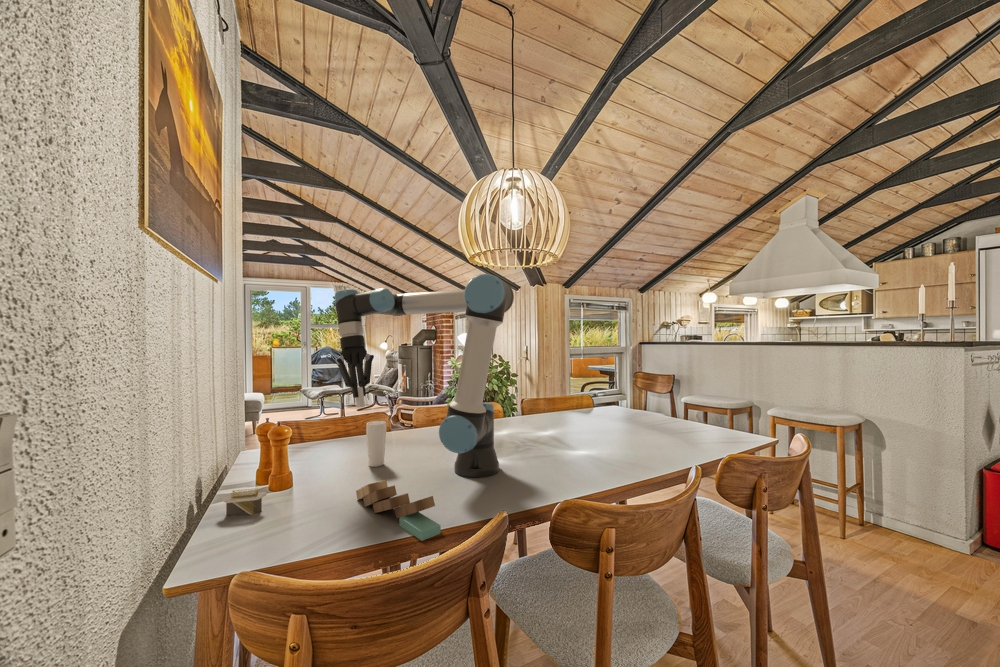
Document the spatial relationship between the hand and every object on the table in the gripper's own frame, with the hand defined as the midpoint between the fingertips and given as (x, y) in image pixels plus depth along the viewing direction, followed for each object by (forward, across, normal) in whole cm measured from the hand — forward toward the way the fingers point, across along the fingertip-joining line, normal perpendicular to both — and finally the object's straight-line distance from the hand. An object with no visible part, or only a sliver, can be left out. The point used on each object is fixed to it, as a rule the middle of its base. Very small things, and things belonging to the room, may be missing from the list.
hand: (361, 407), depth 133 cm
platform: (+22, +36, +2) cm, 42 cm away
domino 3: (+25, +10, +25) cm, 37 cm away
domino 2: (+24, +10, +20) cm, 33 cm away
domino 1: (+24, +9, +14) cm, 29 cm away
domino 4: (+26, +8, +32) cm, 42 cm away
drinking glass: (+22, -8, -10) cm, 25 cm away
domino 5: (+28, +9, +36) cm, 46 cm away
